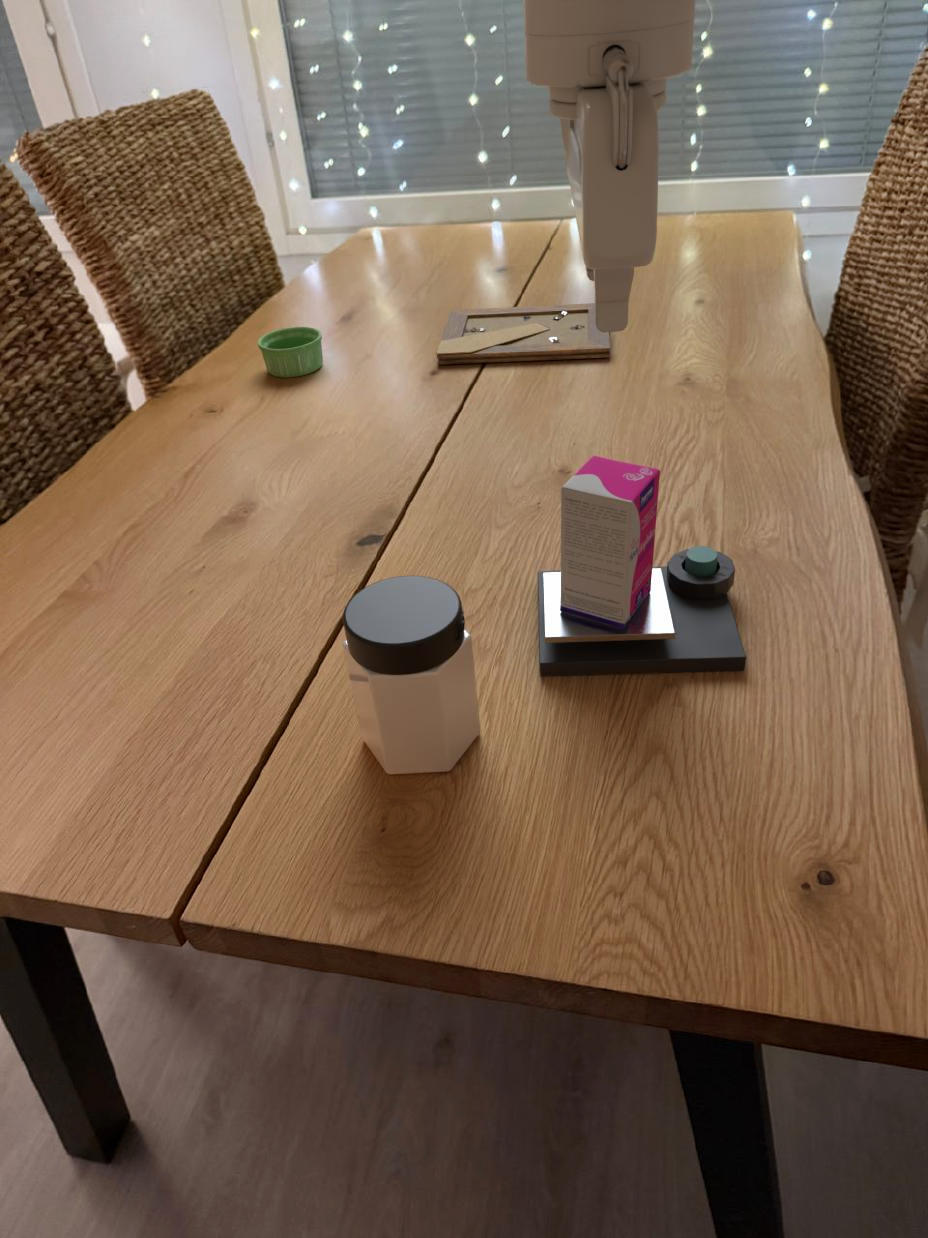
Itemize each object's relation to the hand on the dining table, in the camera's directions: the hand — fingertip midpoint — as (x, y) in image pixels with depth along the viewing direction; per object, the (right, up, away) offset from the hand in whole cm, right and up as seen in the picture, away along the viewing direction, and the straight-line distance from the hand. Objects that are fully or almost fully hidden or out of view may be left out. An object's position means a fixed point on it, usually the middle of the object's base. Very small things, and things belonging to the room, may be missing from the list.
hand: (604, 300), depth 57 cm
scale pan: (+3, -19, +18) cm, 26 cm away
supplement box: (+3, -18, +18) cm, 26 cm away
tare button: (+12, -15, +22) cm, 29 cm away
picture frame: (0, +21, +77) cm, 80 cm away
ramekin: (-33, +16, +75) cm, 84 cm away
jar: (-12, -29, +12) cm, 33 cm away
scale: (+6, -20, +21) cm, 30 cm away
